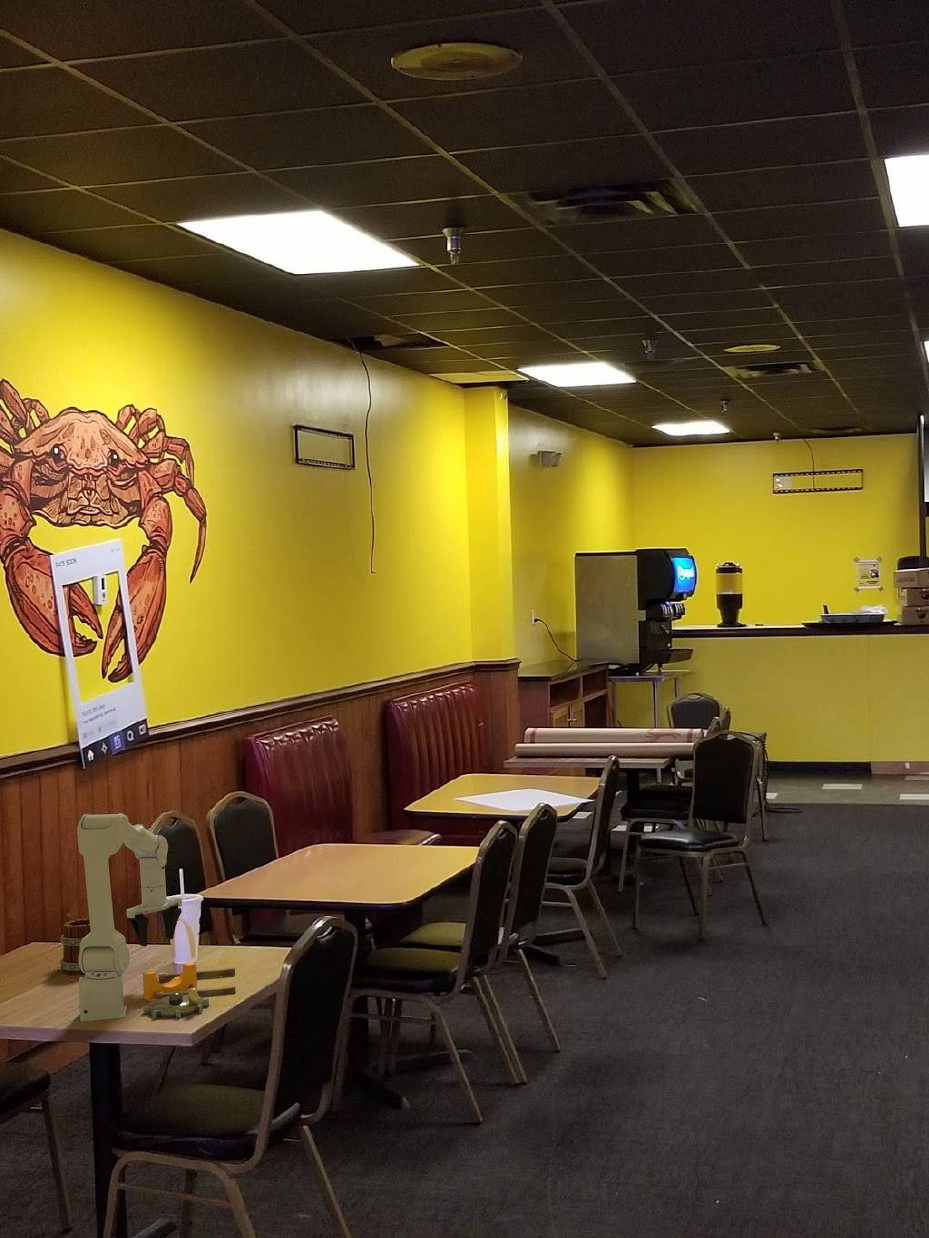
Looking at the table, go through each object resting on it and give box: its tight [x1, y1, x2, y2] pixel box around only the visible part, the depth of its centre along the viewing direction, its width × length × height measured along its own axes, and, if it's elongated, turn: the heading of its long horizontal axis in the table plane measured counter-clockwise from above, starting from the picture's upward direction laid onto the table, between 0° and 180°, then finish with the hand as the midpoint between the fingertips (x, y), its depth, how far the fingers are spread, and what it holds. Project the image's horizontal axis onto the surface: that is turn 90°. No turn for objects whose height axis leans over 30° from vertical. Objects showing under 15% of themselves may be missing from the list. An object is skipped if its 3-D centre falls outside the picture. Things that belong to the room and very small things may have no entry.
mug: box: [59, 912, 91, 976], centre depth 360 cm, size 12×14×15 cm
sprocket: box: [142, 987, 210, 1020], centre depth 318 cm, size 14×14×5 cm
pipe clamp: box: [142, 961, 198, 1002], centre depth 331 cm, size 12×4×6 cm, turn 126°
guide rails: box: [155, 967, 237, 999], centre depth 336 cm, size 18×18×2 cm
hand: (156, 942), depth 343 cm, fingers open, 7 cm apart
